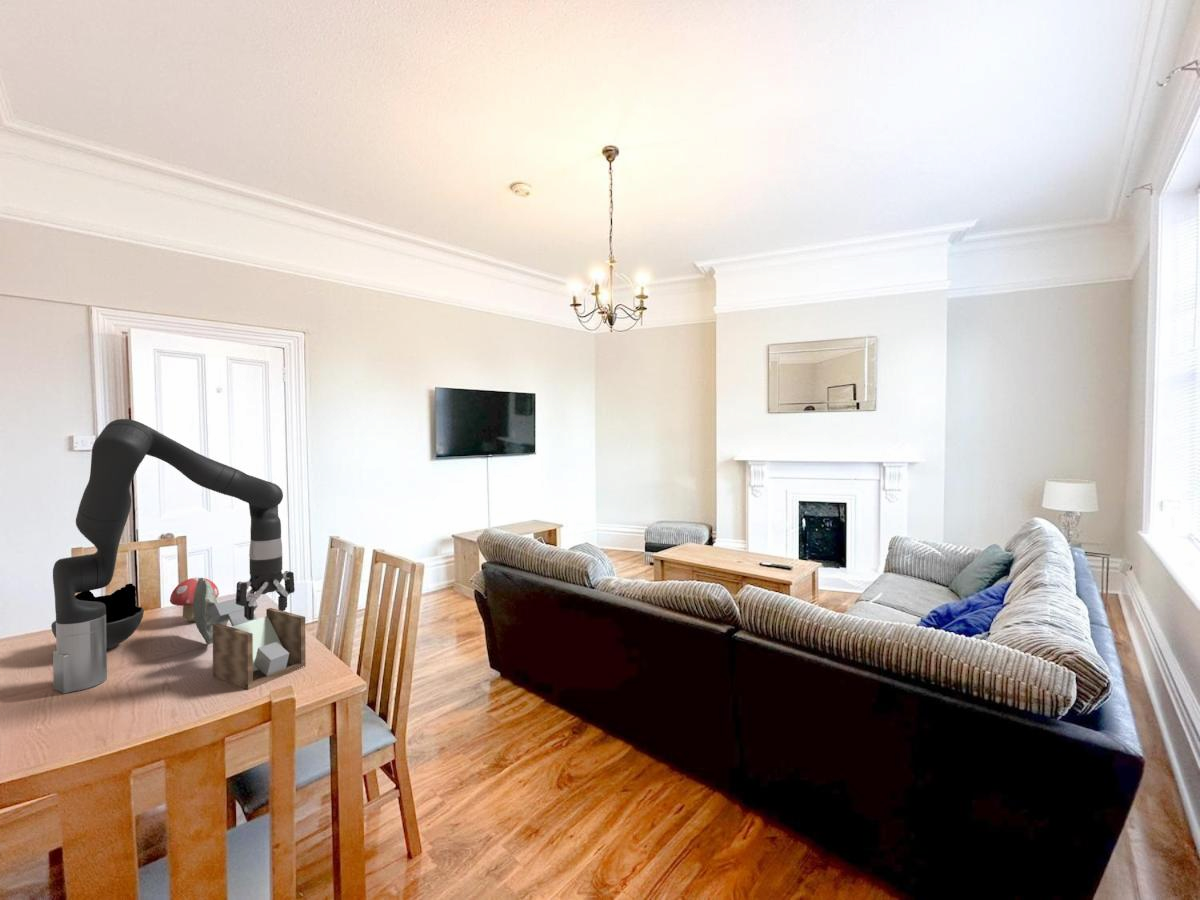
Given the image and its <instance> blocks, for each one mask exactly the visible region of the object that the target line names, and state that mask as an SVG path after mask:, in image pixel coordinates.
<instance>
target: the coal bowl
mask: <svg viewBox="0 0 1200 900" xmlns="http://www.w3.org/2000/svg"><path fill="white" fill-rule="evenodd" d="M136 590H137V587H136V586H135V585H134V583H127V584H125V586H122V587H120V589H116V590H115V591H113V593H111V594H106V595H100V596H94V594H93V592H92V591H91V590H90V591H85V592H79V593H76V594H75V598H76V599H79V600H83V601H94V602H101V603H104V604H105V606H106V644H107V650H108V649H111V648H113V647H115V646H118V645H120V644H121V643H123V642H125V641H126V640H127V639H129V638H130V637H131V636H132V635H133V634H134V633H135V632H136V631H137V629H138V627H139V626H140V624H141V622H142V620H143V617H144V613H145V612H144V611H145V610H144V608H143V607H142V606H138V605H137V597H136V596H137V592H136ZM50 626H51V631H52V634H53V636H54V638H55V639H56V620H54V621H53V622H52V623H51V625H50Z"/></svg>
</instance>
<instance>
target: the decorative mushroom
mask: <svg viewBox="0 0 1200 900" xmlns="http://www.w3.org/2000/svg"><path fill="white" fill-rule="evenodd" d="M199 578H200V577H191V578H189V579H185V580H184V581H181V582H180V583H179V584H177V585H176V587H175V588H174V589H173V591H172V593H171V594H170V597H169V603H170V604H171V605H174V606H177V607H178V606H179V607H181V606H182V618H183V619H185V620H186V621H188V622H192V623H193V622H195V620H194V611H193V600H194V594H195V590H196V586H197V582H198V580H199ZM203 578H204V579H205V580H207V581H209V582H210V584H211V586H212V588H213V591H214V594H215V597H216V599H218V597H219V595H220V594H219V593H220V592H219V591H220V590H219V589H218V587H217V585H216V584H215V583H214V582H213V581H212V580H210V579H208V578H206V577H203ZM195 623H196V622H195Z"/></svg>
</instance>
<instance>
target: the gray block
mask: <svg viewBox="0 0 1200 900" xmlns="http://www.w3.org/2000/svg"><path fill="white" fill-rule="evenodd" d="M288 657H289V652H288V651H287V650H285V649H284V648H283V647H282V646H281V645H280V644H279V643H278V642H274V643H271V644H268V645H266V646H263V647H260V648H258V650H257V655H256V659H255V663H254V664H255V665H256V666H257V667H258V668H259V670H260V672H262V673H263V674H264V676H269V675H272V674H274V673H277V672H279V671H282V670H284V669H286V668H287V665H288V663H287V661H288Z"/></svg>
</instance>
